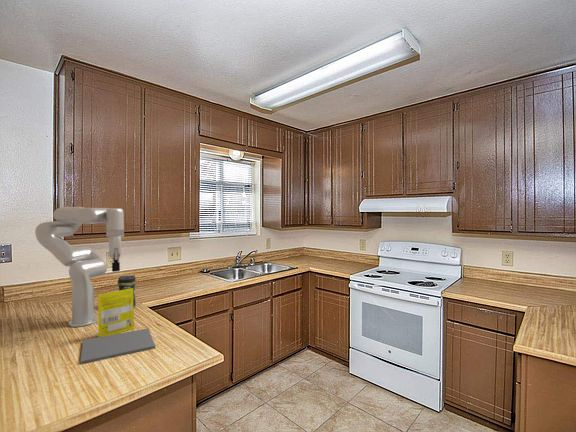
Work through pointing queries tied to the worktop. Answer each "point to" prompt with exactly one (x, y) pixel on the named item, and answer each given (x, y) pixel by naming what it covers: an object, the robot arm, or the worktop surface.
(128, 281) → the coffee jar
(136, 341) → the rubber mat
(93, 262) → the robot arm
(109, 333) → the food package
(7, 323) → the worktop surface
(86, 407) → the worktop surface
